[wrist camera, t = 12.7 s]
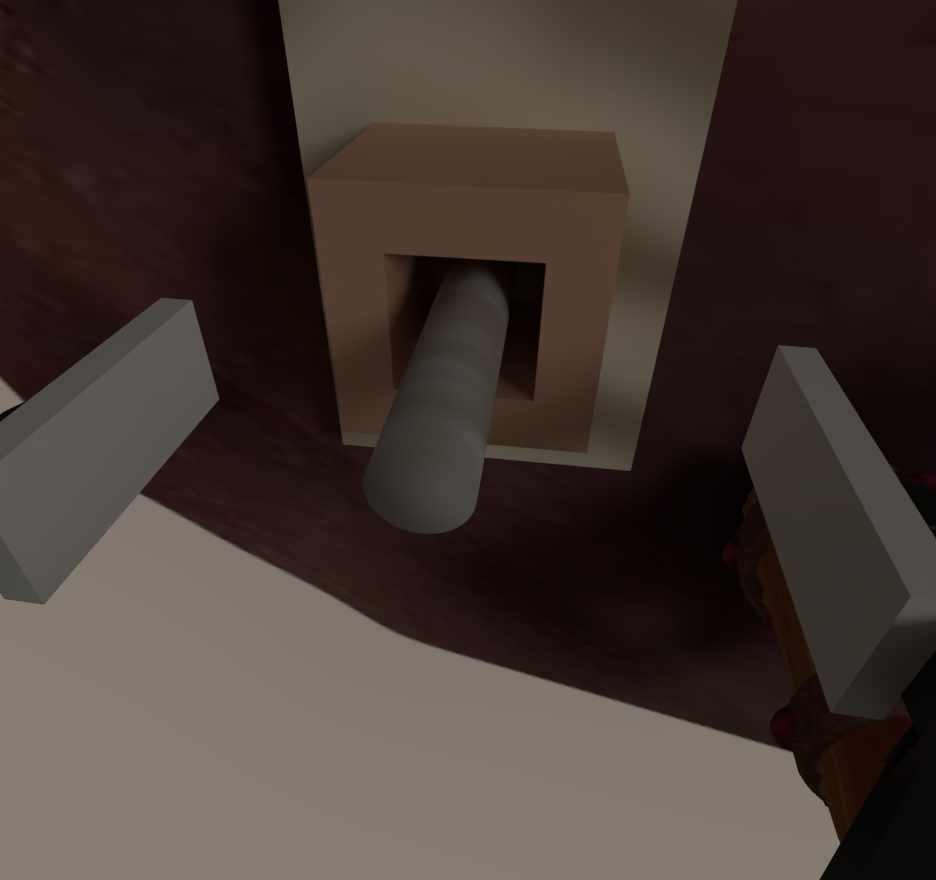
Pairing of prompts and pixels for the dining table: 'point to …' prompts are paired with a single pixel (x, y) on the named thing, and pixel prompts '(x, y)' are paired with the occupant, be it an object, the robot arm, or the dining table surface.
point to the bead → (473, 237)
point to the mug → (813, 681)
